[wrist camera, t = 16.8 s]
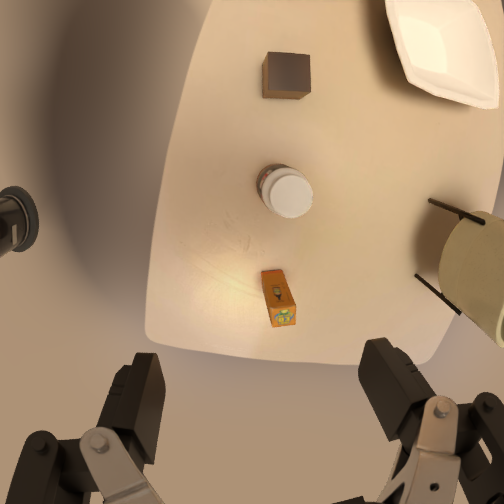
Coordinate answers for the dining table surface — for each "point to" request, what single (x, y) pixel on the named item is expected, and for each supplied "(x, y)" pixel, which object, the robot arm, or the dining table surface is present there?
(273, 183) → the pill bottle
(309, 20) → the dining table surface
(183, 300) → the dining table surface
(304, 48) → the dining table surface
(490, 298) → the planter
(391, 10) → the bowl
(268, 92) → the walnut block
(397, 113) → the dining table surface
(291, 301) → the supplement box
